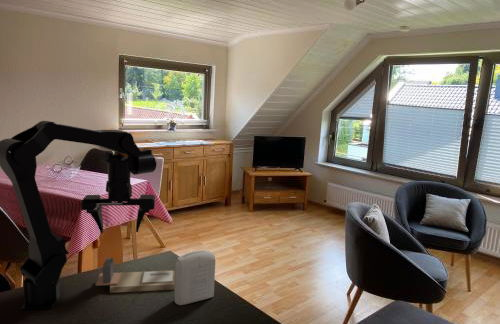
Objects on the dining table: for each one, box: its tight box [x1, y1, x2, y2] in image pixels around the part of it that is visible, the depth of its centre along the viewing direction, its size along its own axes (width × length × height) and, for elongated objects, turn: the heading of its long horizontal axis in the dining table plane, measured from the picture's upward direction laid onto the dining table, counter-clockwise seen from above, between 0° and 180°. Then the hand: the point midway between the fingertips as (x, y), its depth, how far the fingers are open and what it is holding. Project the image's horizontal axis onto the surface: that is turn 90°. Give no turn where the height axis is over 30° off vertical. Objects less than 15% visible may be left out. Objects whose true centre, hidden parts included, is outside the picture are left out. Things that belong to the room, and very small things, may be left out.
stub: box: [95, 257, 121, 287], centre depth 99 cm, size 5×6×5 cm
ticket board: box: [109, 269, 175, 294], centre depth 101 cm, size 16×8×2 cm, turn 101°
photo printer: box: [174, 250, 216, 306], centre depth 94 cm, size 10×4×12 cm, turn 123°
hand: (119, 232), depth 105 cm, fingers open, 9 cm apart
